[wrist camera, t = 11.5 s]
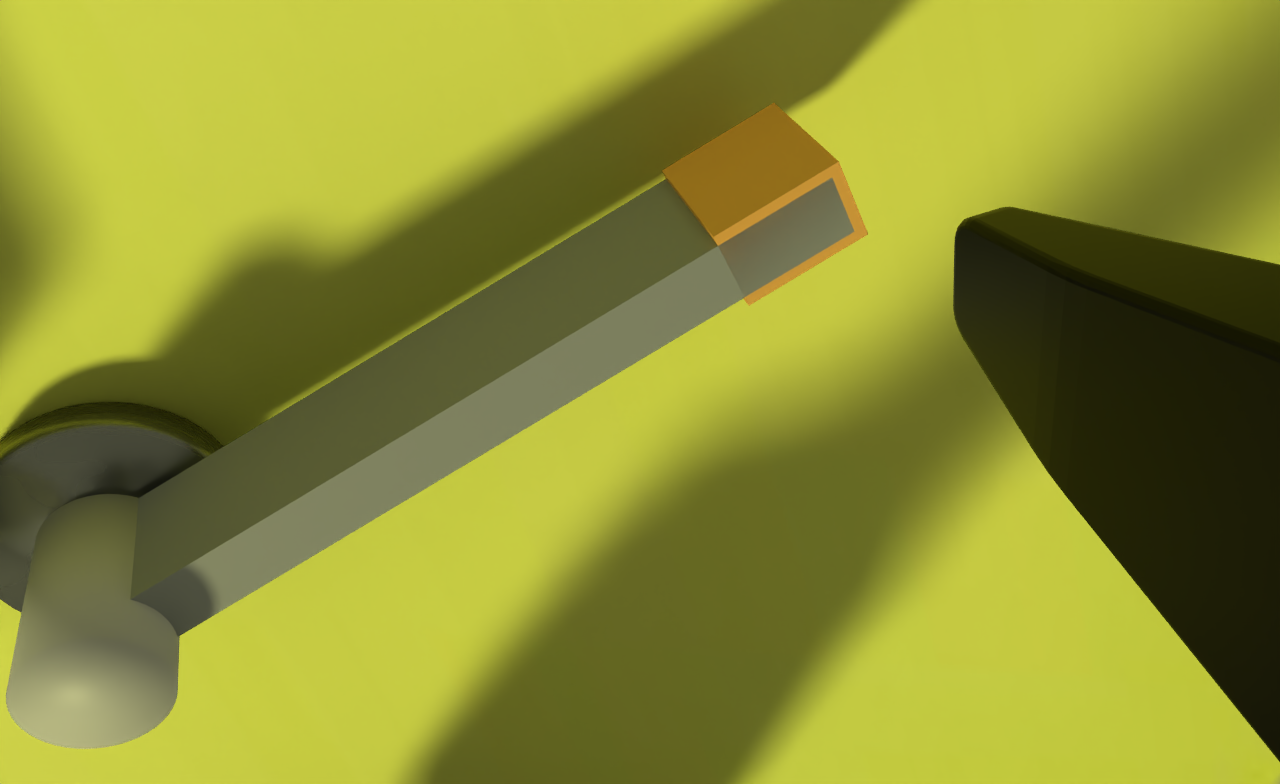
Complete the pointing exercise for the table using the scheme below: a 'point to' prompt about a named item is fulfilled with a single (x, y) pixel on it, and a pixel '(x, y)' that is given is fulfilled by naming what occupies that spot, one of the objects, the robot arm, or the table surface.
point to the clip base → (84, 469)
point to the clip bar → (406, 424)
